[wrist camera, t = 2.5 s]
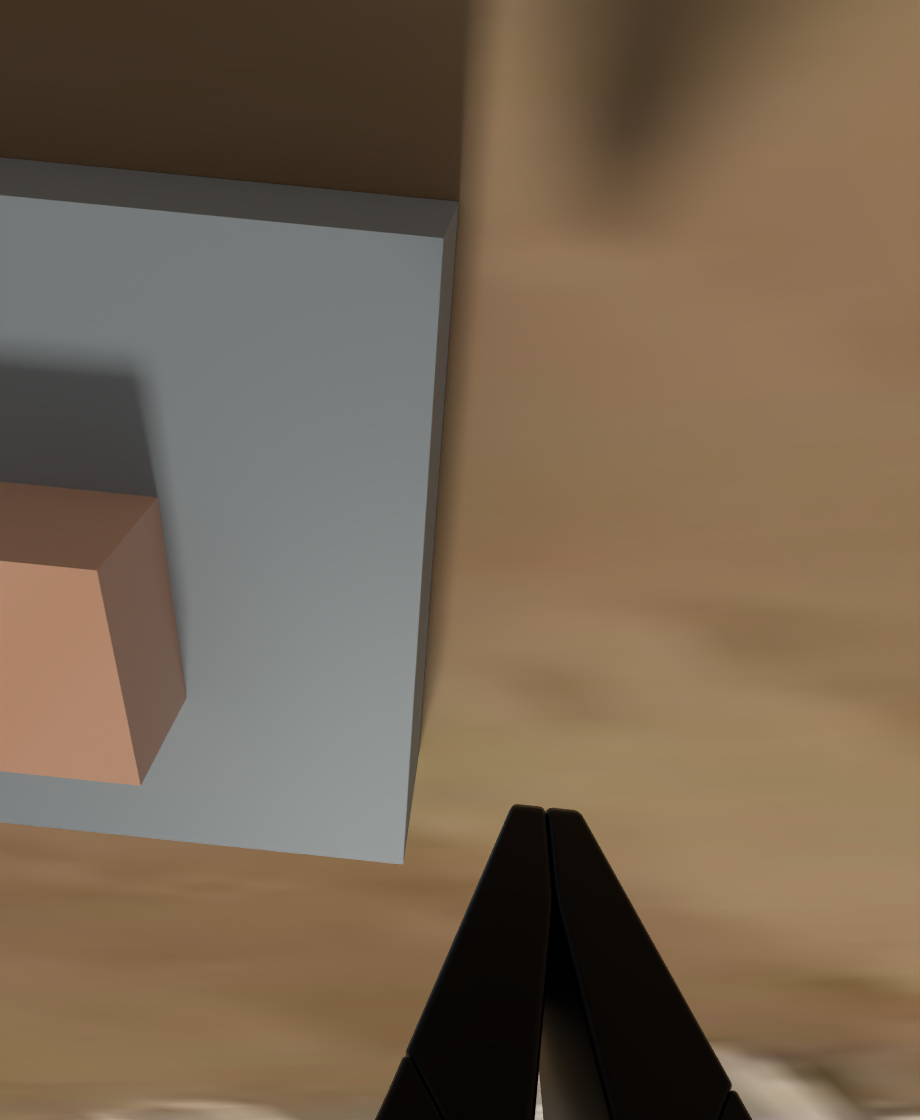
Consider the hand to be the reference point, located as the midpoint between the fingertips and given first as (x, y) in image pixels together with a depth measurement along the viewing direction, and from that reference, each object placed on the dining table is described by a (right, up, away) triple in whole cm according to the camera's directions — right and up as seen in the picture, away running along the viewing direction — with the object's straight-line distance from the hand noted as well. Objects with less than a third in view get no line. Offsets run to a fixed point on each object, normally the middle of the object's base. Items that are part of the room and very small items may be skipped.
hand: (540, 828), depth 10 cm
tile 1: (-8, +3, +3) cm, 9 cm away
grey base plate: (-8, +4, +6) cm, 11 cm away
